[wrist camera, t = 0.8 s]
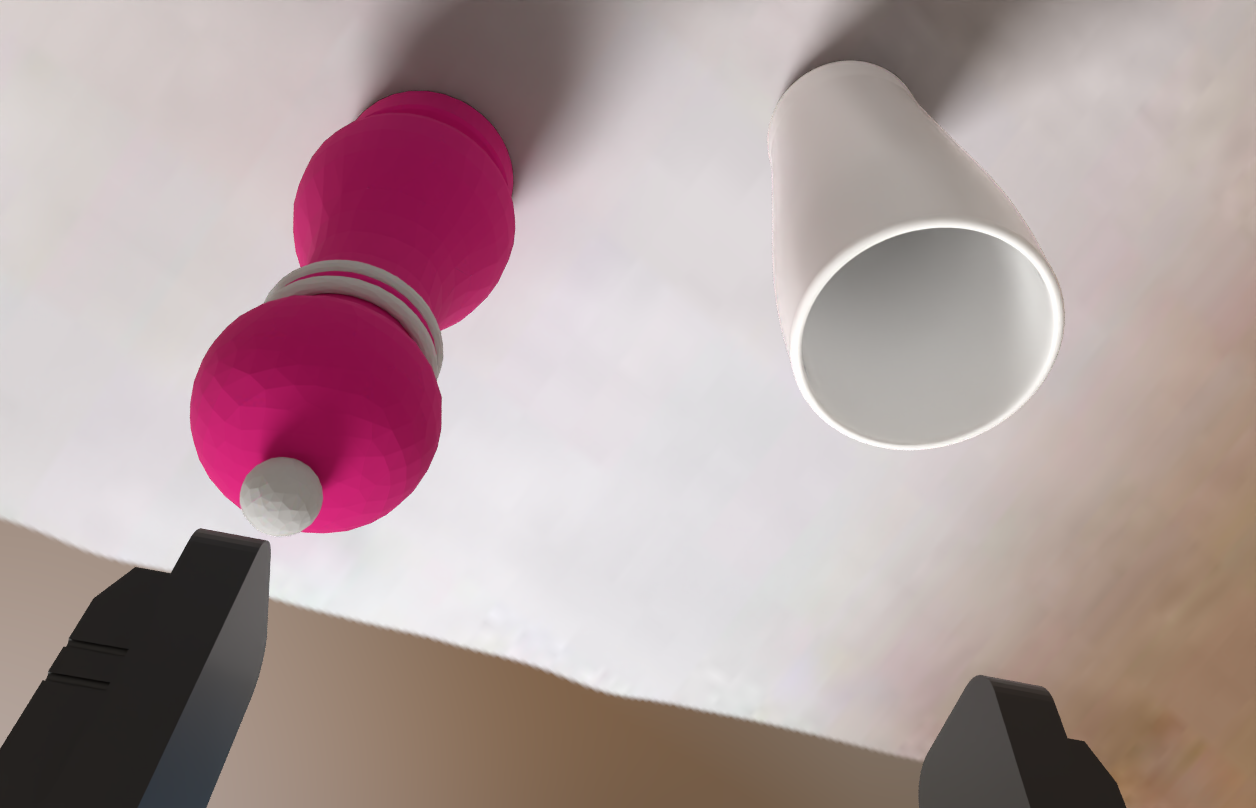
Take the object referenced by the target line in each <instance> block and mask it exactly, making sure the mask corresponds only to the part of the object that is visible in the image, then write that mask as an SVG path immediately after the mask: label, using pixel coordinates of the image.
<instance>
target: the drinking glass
mask: <svg viewBox="0 0 1256 808" xmlns="http://www.w3.org/2000/svg"><path fill="white" fill-rule="evenodd" d="M767 147H768V155H769V161H770V165H771V177H772V261H773V281H774V291H775V298H776V305H777V311H778V316H779V321H780V326H781V330H782V334H783V338H784V342H785V345H786V349H787V353H788V356H789V359H790V363H791V366H792V370H793V373H794V377H795V380H796V382H797V385H798V387H799V389H800V391H801V393H802V395H803V396H804V398H805V399H806V401H807V402H808V404H809V405H810V407H811V408H812V409H813V410H814V411H815V412H816V413H817V414H818V416H820V417H821V418H822V419H823V420H824V421H825V422H826V423H827V424H829V425H830V426H832V427H833V428H834V429H836V430H837V431H839V432H841V433H843V434H844V435H846V436H848V437H850V438H853V439H855V440H857V441H860V442H863V443H866V444H869V445H873V446H877V447H882V448H888V449H896V450H923V449H932V448H939V447H943V446H948V445H952V444H955V443H959V442H962V441H965V440H968V439H970V438H973V437H975V436H978V435H980V434H982V433H984V432H986V431H988V430H990V429H991V428H993V427H995V426H996V425H998V424H1000V423H1001V422H1003V421H1004V420H1006V419H1007V418H1008V417H1010V416H1011V415H1012V414H1014V413H1015V412H1016V411H1017V410H1019V409H1020V408H1021V407H1022V406H1023V405H1024V404H1025V403H1026V402H1027V401H1028V400H1029V399H1030V398H1031V397H1032V396H1033V394H1034V393H1035V392H1036V391H1037V390H1038V388H1039V387H1040V386H1041V384H1042V383H1043V382H1044V380H1045V379H1046V377H1047V375H1048V374H1049V372H1050V370H1051V368H1052V366H1053V364H1054V362H1055V360H1056V358H1057V355H1058V352H1059V349H1060V346H1061V342H1062V338H1063V332H1064V324H1065V311H1064V302H1063V296H1062V292H1061V288H1060V285H1059V283H1058V280H1057V277H1056V275H1055V273H1054V272H1053V270H1052V268H1051V266H1050V264H1049V263H1048V261H1047V259H1046V257H1045V255H1044V253H1043V251H1042V249H1041V248H1040V246H1039V244H1038V242H1037V240H1036V238H1035V237H1034V235H1033V233H1032V232H1031V230H1030V228H1029V227H1028V225H1027V223H1026V222H1025V220H1024V219H1023V217H1022V216H1021V214H1020V213H1019V212H1018V210H1017V209H1016V207H1015V206H1014V204H1013V203H1012V202H1011V200H1010V199H1009V198H1008V196H1007V195H1006V194H1005V193H1004V191H1003V190H1002V189H1001V188H1000V187H999V186H998V184H997V183H996V182H995V181H994V180H993V179H992V178H991V176H990V175H989V174H988V173H987V172H986V171H985V170H984V169H983V168H982V167H981V166H980V165H979V164H978V163H977V162H976V161H975V160H974V159H973V158H972V157H971V156H970V155H969V154H968V153H967V152H966V151H965V150H964V149H963V148H962V147H961V146H960V145H959V144H958V143H957V142H956V141H955V140H954V139H953V138H952V137H951V136H950V135H949V134H948V133H947V132H946V131H945V130H944V129H943V128H942V127H941V126H940V125H939V124H938V123H937V122H936V121H935V120H934V119H933V118H932V117H931V116H930V115H929V114H928V113H927V112H926V111H925V110H924V109H923V108H922V107H921V106H920V105H919V104H918V102H917V101H916V99H915V98H914V96H913V95H912V93H911V92H910V90H909V89H908V88H907V86H906V85H905V84H904V83H903V82H902V81H901V80H900V79H899V78H898V77H897V76H895V75H894V74H893V73H891V72H890V71H888V70H886V69H884V68H882V67H880V66H878V65H875V64H872V63H868V62H863V61H854V60H848V61H837V62H832V63H829V64H825V65H822V66H820V67H817V68H815V69H813V70H811V71H809V72H808V73H806V74H805V75H803V76H802V77H800V78H799V79H798V80H797V81H796V82H794V83H793V84H792V85H791V86H790V87H789V88H788V90H787V91H786V92H785V93H784V95H783V96H782V97H781V99H780V100H779V102H778V104H777V105H776V108H775V110H774V112H773V114H772V117H771V120H770V124H769V129H768V137H767Z"/></svg>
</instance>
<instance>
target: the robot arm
mask: <svg viewBox="0 0 1256 808" xmlns="http://www.w3.org/2000/svg"><path fill="white" fill-rule="evenodd" d="M270 558H271V549H270V543H269V541H266V540H261V539H255V538H250V537H245V536H239V535H234V534H228V533H223V532H218V531H212V530H207V529H201V528H200V529H198V530H196V531H195V532H194V534H193V535H192V536H191V538H190V540H189V541H188V543H187V545H186V547H185V549H184V550H183V552H182V554H181V556H180V558H179V559H178V561H177V563H176V565H175V567H174V568H173V570H172V572H171V573H166V572H160V571H155V570H149V569H143V568H138V567H135V568H134V569H132V570H131V571H130V572H128V573H127V574H126V575H124V576H123V577H122V578H120V579H119V580H118V581H116V582H115V583H114V584H112V585H111V586H109V587H108V588H107V589H106V590H104V591H103V592H101V593H100V594H99V595H97V596H96V597H95V598H94V599H93V600H92V602H91V603H90V605H89V607H88V608H87V610H86V611H85V613H84V615H83V616H82V618H81V620H80V621H79V623H78V624H77V626H76V628H75V629H74V631H73V633H72V634H71V636H70V637H69V641H68V644H67V646H66V647H63V649H62V650H61V652H60V653H59V655H58V657H57V658H56V660H55V661H54V663H53V665H52V666H51V668H50V669H49V671H48V676H47V679H46V680H45V681H44V680H43V681H42V682H41V684H40V686H39V687H38V689H37V690H36V692H35V694H34V695H33V697H32V699H31V700H30V702H29V704H28V705H27V707H26V708H25V710H24V711H23V713H22V715H21V716H20V718H19V719H18V721H17V723H16V724H15V726H14V727H13V729H12V731H11V732H10V734H9V735H8V737H7V739H6V740H5V742H4V744H3V745H2V747H1V748H0V808H206V807H207V805H208V802H209V800H210V797H211V794H212V792H213V790H214V787H215V785H216V783H217V780H218V778H219V775H220V773H221V770H222V768H223V766H224V763H225V761H226V758H227V756H228V753H229V751H230V748H231V746H232V743H233V741H234V739H235V736H236V734H237V731H238V729H239V727H240V724H241V722H242V719H243V717H244V714H245V712H246V709H247V707H248V705H249V702H250V700H251V697H252V694H253V692H254V689H255V686H256V683H257V680H258V677H259V673H260V670H261V665H262V661H263V657H264V652H265V646H266V638H267V621H268V600H269V579H270ZM919 808H1126V806H1125V803H1124V800H1123V798H1122V795H1121V793H1120V790H1119V788H1118V785H1117V783H1116V782H1115V780H1114V779H1113V778H1112V776H1111V775H1110V774H1109V772H1108V771H1107V770H1106V769H1105V767H1104V766H1103V765H1102V763H1101V762H1100V761H1099V760H1098V758H1097V757H1096V756H1095V754H1094V753H1093V752H1092V751H1091V749H1090V748H1089V747H1088V745H1087V744H1086V743H1085V741H1080V740H1074V739H1069V738H1067V736H1066V733H1065V730H1064V727H1063V725H1062V722H1061V719H1060V716H1059V714H1058V711H1057V708H1056V705H1055V703H1054V700H1053V698H1052V696H1051V694H1050V693H1049V692H1048V691H1047V690H1046V689H1045V688H1044V687H1042V686H1037V685H1031V684H1026V683H1021V682H1015V681H1010V680H1004V679H999V678H993V677H988V676H983V675H978V676H975V677H974V678H973V679H972V680H971V681H970V682H969V683H968V685H967V686H966V688H965V690H964V691H963V693H962V695H961V696H960V698H959V700H958V702H957V703H956V705H955V707H954V709H953V710H952V712H951V714H950V715H949V717H948V719H947V721H946V722H945V724H944V726H943V728H942V729H941V731H940V733H939V734H938V736H937V738H936V740H935V741H934V743H933V745H932V747H931V748H930V750H929V752H928V754H927V756H926V758H925V760H924V763H923V766H922V770H921V775H920V781H919Z"/></svg>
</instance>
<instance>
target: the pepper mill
mask: <svg viewBox="0 0 1256 808" xmlns="http://www.w3.org/2000/svg"><path fill="white" fill-rule="evenodd" d="M512 191H513V169H512V164H511V160H510V157H509V153H508V150H507V148H506V146H505V144H504V142H503V140H502V138H501V137H500V135H499V134H498V132H497V131H496V129H495V128H494V127H493V126H492V124H491V123H490V122H489V121H488V120H487V119H486V118H485V117H484V116H483V115H481V114H480V113H479V112H478V111H476V110H475V109H474V108H472V107H471V106H469V105H467V104H466V103H464V102H462V101H460V100H458V99H455V98H453V97H450V96H447V95H445V94H440V93H435V92H430V91H407V92H402V93H397V94H393V95H390V96H388V97H386V98H384V99H381V100H379V101H378V102H376V103H375V104H373V105H372V106H370V107H369V108H368V109H366V110H365V111H364V112H363V113H362V114H361V115H360V116H359V117H358V118H357V120H356V121H353V122H352V123H350V124H348V125H347V126H345V127H343V128H342V129H340V130H338V131H337V132H335V133H334V134H333V135H332V136H331V137H329V138H328V139H327V140H326V141H325V142H323V144H322V145H321V146H320V148H319V149H318V150H317V151H316V153H315V154H314V155H313V156H312V158H311V160H310V162H309V164H308V166H307V168H306V170H305V172H304V174H303V177H302V179H301V181H300V184H299V186H298V190H297V194H296V198H295V202H294V221H293V233H294V241H295V249H296V254H297V257H298V260H299V264H300V267H301V268H299V269H296V270H294V271H292V272H291V273H289V274H288V275H286V276H285V277H283V278H282V279H281V280H280V281H279V282H278V283H277V284H276V286H275V287H274V288H273V289H272V290H271V291H270V293H269V294H268V296H267V298H266V300H265V302H264V304H262V305H260V306H258V307H256V308H254V309H252V310H250V311H248V312H246V313H245V314H243V315H241V316H239V317H238V318H237V319H236V320H235V321H233V322H232V323H231V324H230V325H229V326H228V327H227V328H226V329H225V330H224V331H223V332H222V333H221V334H220V335H219V337H218V338H217V339H216V340H215V341H214V343H213V344H212V345H211V347H210V348H209V350H208V352H207V353H206V355H205V357H204V358H203V360H202V363H201V365H200V368H199V370H198V373H197V375H196V378H195V380H194V385H193V390H192V396H191V402H190V424H191V432H192V436H193V440H194V444H195V447H196V451H197V454H198V457H199V460H200V462H201V463H202V465H203V467H204V469H205V471H206V472H207V474H208V476H209V478H210V479H211V480H212V481H213V483H214V484H215V485H216V486H217V487H218V489H219V490H220V491H221V492H222V493H223V494H224V496H225V497H227V498H228V499H229V500H230V501H232V502H233V503H234V504H235V505H237V506H238V507H239V508H240V509H242V512H243V515H244V516H245V517H246V519H247V520H248V521H249V523H250V524H251V525H252V526H253V527H254V528H255V529H257V530H258V531H260V532H262V533H265V534H267V535H271V536H276V537H282V536H291V535H294V534H297V533H299V532H307V533H332V532H341V531H349V530H352V529H355V528H358V527H361V526H364V525H367V524H370V523H372V522H374V521H376V520H377V519H379V518H381V517H383V516H385V515H387V514H388V513H389V512H390V511H392V510H393V509H394V508H395V507H396V506H398V505H399V504H400V503H401V502H402V501H403V500H404V499H405V498H406V497H408V496H409V495H410V494H411V493H412V492H413V491H414V489H415V488H416V486H417V485H418V484H419V482H420V481H421V479H422V478H423V476H424V475H425V473H426V472H427V470H428V468H429V466H430V464H431V461H432V459H433V457H434V455H435V452H436V450H437V447H438V442H439V437H440V432H441V405H442V397H441V394H440V390H439V387H438V384H437V378H438V376H439V373H440V370H441V366H442V361H443V342H442V337H441V330H443V329H445V328H448V327H450V326H452V325H454V324H456V323H457V322H459V321H461V320H462V319H463V318H465V317H466V316H467V315H468V314H470V313H471V312H472V311H473V310H474V309H475V308H476V307H477V306H478V305H480V304H481V303H482V302H483V301H484V300H485V299H486V298H487V297H488V295H489V294H490V293H491V291H492V290H493V288H494V287H495V286H496V284H497V283H498V281H499V279H500V277H501V275H502V273H503V271H504V269H505V267H506V264H507V262H508V260H509V257H510V254H511V251H512V247H513V244H514V235H515V215H514V208H513V202H512V198H511V196H512Z"/></svg>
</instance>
